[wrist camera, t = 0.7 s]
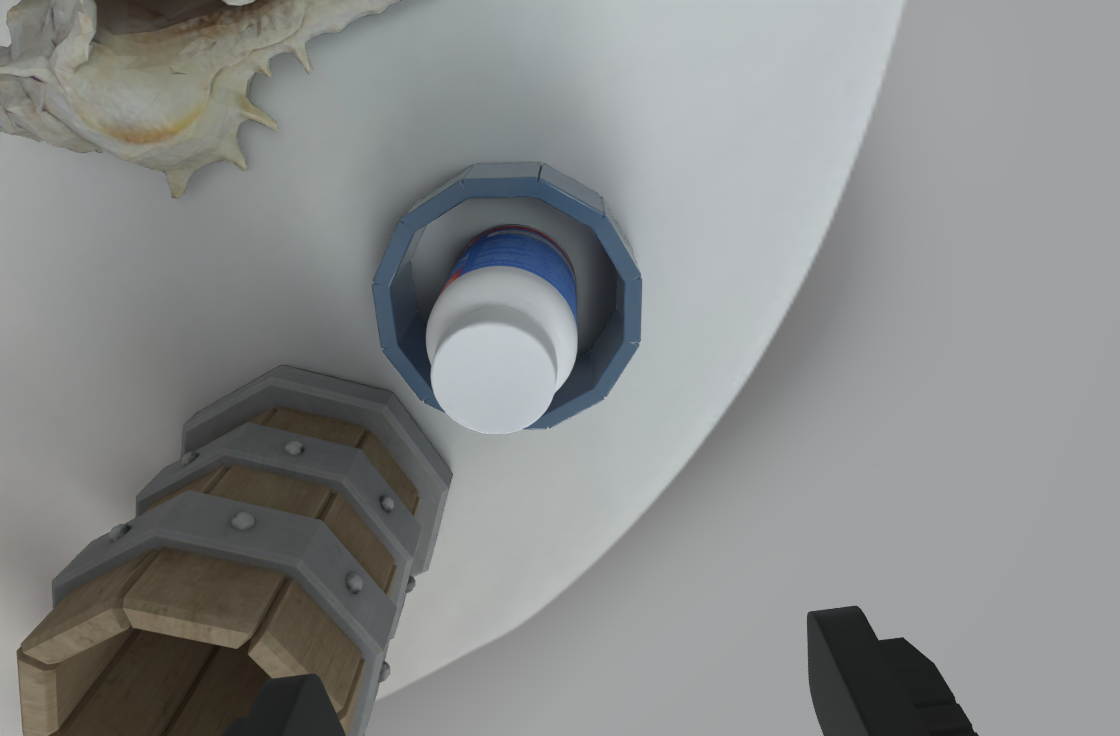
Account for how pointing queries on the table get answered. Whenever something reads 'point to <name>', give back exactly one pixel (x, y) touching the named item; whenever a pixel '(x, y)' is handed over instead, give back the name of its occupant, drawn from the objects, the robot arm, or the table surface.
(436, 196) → the grey hollow ring
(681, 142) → the table surface
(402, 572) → the tankard
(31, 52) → the seashell
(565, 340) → the pill bottle
